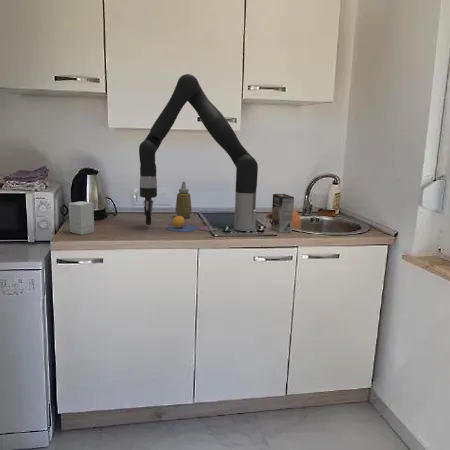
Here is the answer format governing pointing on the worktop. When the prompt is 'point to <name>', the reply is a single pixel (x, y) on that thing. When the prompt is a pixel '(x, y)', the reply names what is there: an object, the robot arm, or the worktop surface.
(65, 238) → the worktop surface
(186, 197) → the squeeze bottle
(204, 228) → the disc
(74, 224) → the supplement box
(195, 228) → the disc
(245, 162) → the robot arm
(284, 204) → the coffee box
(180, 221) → the ball
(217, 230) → the worktop surface
